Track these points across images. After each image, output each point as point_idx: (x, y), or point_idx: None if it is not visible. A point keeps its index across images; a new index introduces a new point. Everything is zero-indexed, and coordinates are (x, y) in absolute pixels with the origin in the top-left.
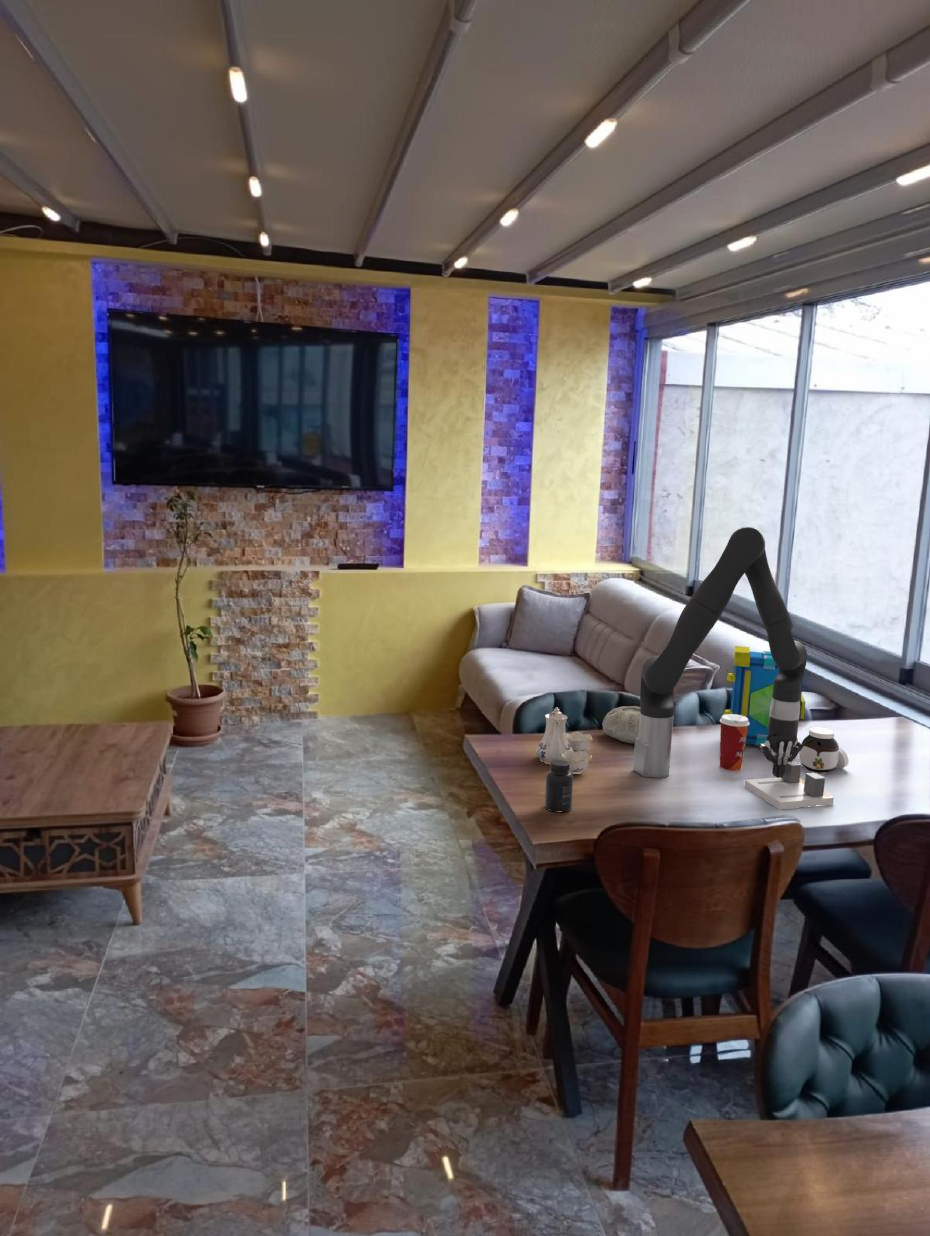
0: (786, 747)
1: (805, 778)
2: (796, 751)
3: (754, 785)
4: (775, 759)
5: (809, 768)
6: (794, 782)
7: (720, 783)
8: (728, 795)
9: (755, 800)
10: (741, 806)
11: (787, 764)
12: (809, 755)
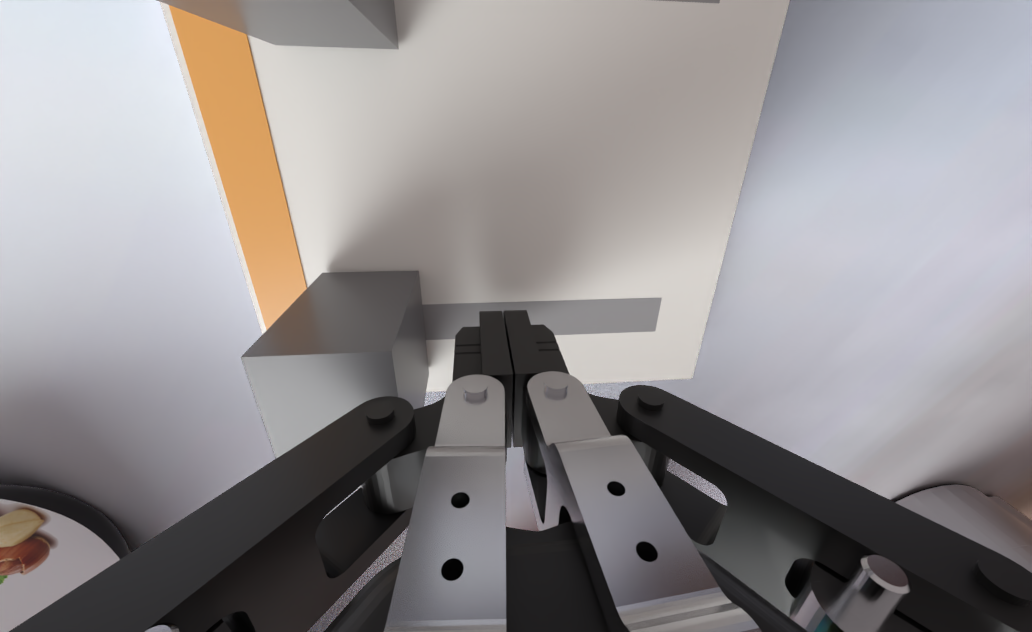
0: (506, 624)
1: (363, 3)
2: (230, 541)
3: (713, 282)
4: (637, 419)
5: (99, 529)
6: (372, 273)
7: (751, 410)
8: (866, 251)
9: (786, 131)
10: (977, 39)
11: None
12: None
